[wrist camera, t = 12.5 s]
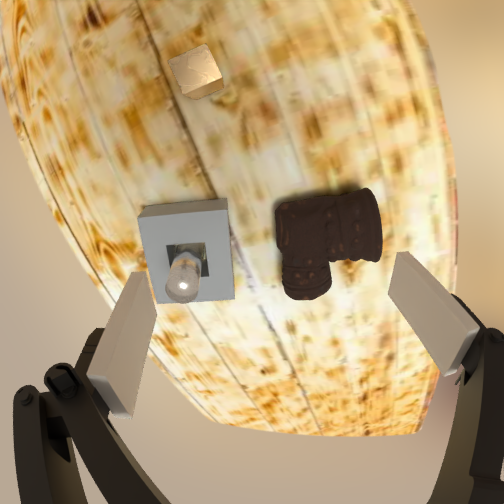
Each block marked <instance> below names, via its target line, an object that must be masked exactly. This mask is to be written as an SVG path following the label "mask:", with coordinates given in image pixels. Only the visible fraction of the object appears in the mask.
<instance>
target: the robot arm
mask: <svg viewBox="0 0 504 504" xmlns="http://www.w3.org/2000/svg"><path fill="white" fill-rule="evenodd" d="M388 295H389V297H390V298H391V299H392V301H393V302H394V303H395V305H396V306H397V308H398V309H399V310H400V312H401V313H402V315H403V316H404V317H405V319H406V320H407V322H408V323H409V324H410V326H411V327H412V329H413V330H414V332H415V333H416V335H417V336H418V338H419V339H420V341H421V342H422V344H423V345H424V347H425V348H426V350H427V351H428V353H429V354H430V356H431V357H432V359H433V360H434V362H435V363H436V365H437V367H438V368H439V370H440V371H441V373H442V375H443V376H444V377H445V376H448V375H450V374H453V373H455V372H456V371H457V369H458V368H459V366H460V364H462V365H463V366H464V369H463V371H462V372H461V374H460V376H459V377H458V379H457V380H456V383H455V385H457V383H458V382H459V381H460V385H459V386H460V388H459V394H458V400H457V406H456V412H455V417H454V421H453V425H452V430H451V435H450V438H449V442H448V446H447V449H446V453H445V456H444V460H443V463H442V467H441V470H440V473H439V476H438V479H437V482H436V484H435V487H434V490H433V493H432V495H431V498H430V499H429V501H428V502H427V504H504V481H501V479H500V474H501V469H502V463H503V457H504V334H503V333H502V332H500V331H499V330H497V329H495V328H486V327H485V326H484V325H483V324H482V322H481V321H480V320H479V319H478V318H477V317H476V316H475V315H474V313H473V312H471V310H470V309H469V308H468V307H467V306H466V304H465V303H464V302H463V301H462V300H461V299H459V298H458V297H457V296H455V295H454V294H450V293H449V292H448V291H447V290H446V289H445V288H444V287H443V286H442V285H441V284H440V282H439V281H438V280H437V279H436V278H435V277H434V276H433V275H432V274H431V273H430V272H429V271H428V270H427V269H426V268H425V267H424V266H423V265H422V264H421V263H420V262H419V261H418V260H417V259H415V258H414V257H413V256H412V255H411V254H410V253H409V252H408V251H407V252H397V255H396V260H395V265H394V269H393V274H392V278H391V282H390V287H389V291H388ZM156 317H157V312H156V309H155V305H154V302H153V298H152V294H151V291H150V287H149V283H148V279H147V275H146V271H144V272H132V273H131V275H130V277H129V279H128V281H127V283H126V285H125V287H124V289H123V291H122V293H121V295H120V297H119V299H118V301H117V303H116V305H115V308H114V310H113V312H112V314H111V316H110V319H109V321H108V323H107V325H106V328H96V329H95V330H94V331H93V332H92V333H91V334H90V335H89V337H88V339H87V341H86V343H85V346H84V348H83V350H82V353H81V354H80V356H79V359H78V361H77V363H76V366H75V368H73V367H72V366H71V365H70V364H68V363H58V364H55V365H53V366H52V367H51V368H49V369H48V371H47V372H46V374H45V376H44V384H45V385H46V386H47V388H48V389H49V390H50V391H49V392H43V393H39V391H38V390H37V389H36V388H35V387H34V386H32V385H26V386H24V387H21V388H20V389H19V390H18V391H17V392H16V394H15V396H14V401H13V435H14V453H15V464H16V474H17V481H18V488H19V494H20V499H21V504H88V502H87V499H86V496H85V493H84V489H83V486H82V482H81V478H80V475H79V471H78V467H77V463H76V458H75V454H74V449H73V444H72V439H73V441H74V444H75V446H76V448H77V449H78V452H79V454H80V456H81V458H82V459H83V461H84V463H85V465H86V467H87V469H88V471H89V472H90V474H91V476H92V478H93V479H94V481H95V483H96V484H97V486H98V488H99V490H100V491H101V493H102V494H103V496H104V497H105V499H106V501H107V502H108V504H171V503H170V502H169V501H168V499H167V498H166V497H165V496H164V495H163V494H162V493H161V491H160V490H159V489H158V488H157V487H156V485H155V484H154V483H153V482H152V480H151V479H150V478H149V476H148V475H147V474H146V473H145V471H144V470H143V469H142V468H141V466H140V465H139V463H138V462H137V461H136V459H135V458H134V456H133V455H132V454H131V452H130V451H129V449H128V448H127V446H126V445H125V443H124V442H123V441H122V439H121V437H120V436H119V434H118V433H117V431H116V430H115V428H114V427H113V425H112V423H111V422H110V420H109V419H108V414H109V411H111V412H112V414H113V415H114V416H115V417H117V418H128V419H132V418H133V413H134V408H135V403H136V399H137V394H138V389H139V385H140V381H141V376H142V372H143V368H144V364H145V359H146V355H147V351H148V347H149V344H150V340H151V336H152V332H153V328H154V325H155V321H156ZM71 437H72V439H71Z"/></svg>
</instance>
